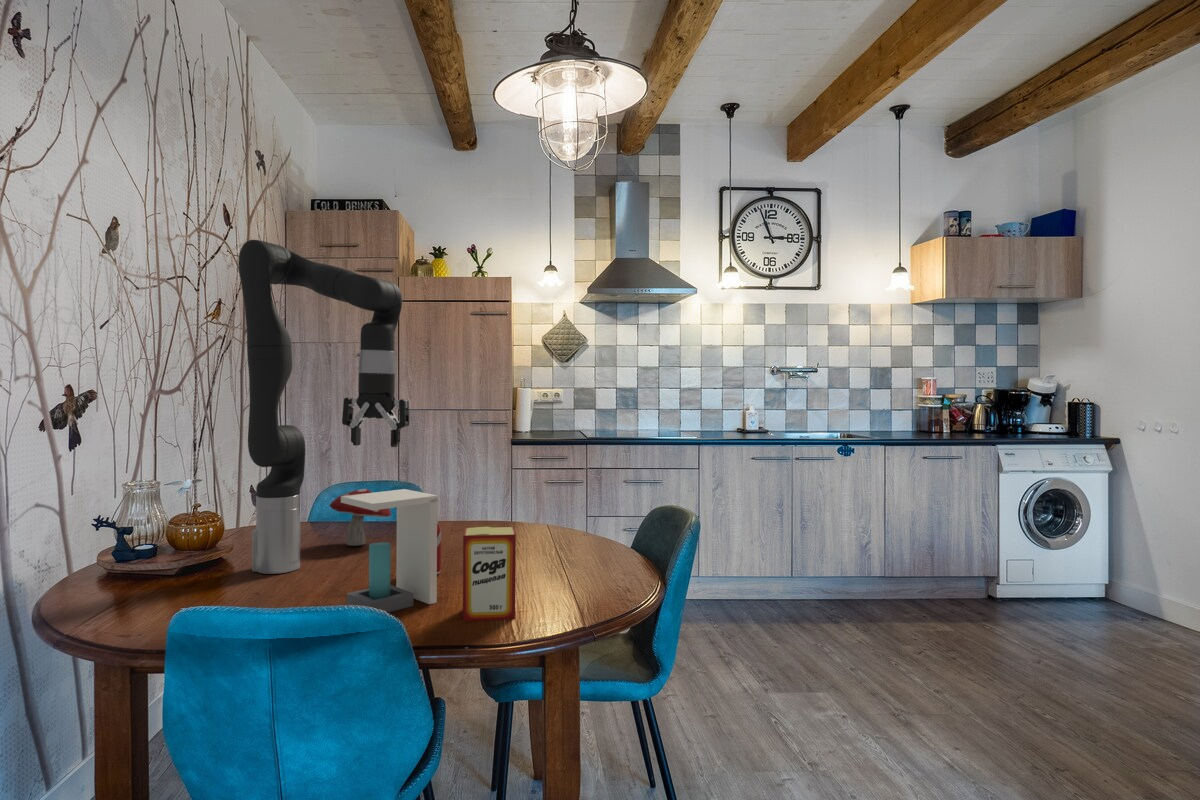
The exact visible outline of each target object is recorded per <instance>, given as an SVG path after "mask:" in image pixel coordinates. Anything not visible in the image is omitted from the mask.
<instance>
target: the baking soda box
mask: <svg viewBox="0 0 1200 800" xmlns="http://www.w3.org/2000/svg"><path fill="white" fill-rule="evenodd" d="M462 537H463V539H462V541H463V542H462V543H463V544H462V549H463V550H462V622H470V621H471V622H472V621H473V622H474V621H492V620H493V621H495V620H497V621H498V620H515V619H516V560H517V559H516V553H517V552H516V550H517V549H516V547H517V546H516V545H517V544H516V542H517V541H516V540H517V539H516V537H517V535H516V530H515V527H512V526H511V527H510V526H509V527H507V526H505V527H501V526H500V527H490V526H478V527H466V528H464V529H463V536H462Z"/></svg>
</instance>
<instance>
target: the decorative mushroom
mask: <svg viewBox="0 0 1200 800" xmlns="http://www.w3.org/2000/svg"><path fill="white" fill-rule="evenodd" d="M366 493H374V492H373V491H371V490H369V489H367V488H362V489H356V490H353V491H349V492H346V493H344V494H340V495H339V496H337V497H336V498H335V499H333V500H332V501H331V502H330V504H329V507H330V508H331V509H332V510H335V511H336V512H339V513H347V514H350V515H352V517H351V520H350V521H349V523H348V524H347V529H346V533H345V545H347V546H351V547H356V546H357V547H358V546H362V545H364V544H366V539H367V538H366V530H365V527H364V518H365V517H371V518H372V517H374V518H375V517H376V518H389V517H391V516H392V512H391V508H387V509H380V510H369V509H365V508H361V507H357V506H353V505H349V504H345V503H341V496H348V495H357V494H366Z"/></svg>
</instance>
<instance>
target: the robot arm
mask: <svg viewBox="0 0 1200 800" xmlns="http://www.w3.org/2000/svg"><path fill="white" fill-rule="evenodd" d="M238 272H239V279H240V284H241V285H240V286H241V290H242V296H243V298H242V299H243V305H244V313H245V314H244V315H245V325H246V353H247V355H246V356H247V365H248V368H247V369H248V380H249V383H248V386H249V411H248V413H249V414H248V415H249V416H248V426H247V427H248V430H247V431H248V432H247V449H248V453H249V457H250V459H251V461H252V462H253V463H254V464H255V465H256V466H258V467H259V468H271V469H270V471H269V473H268V475H267V476H266V477H265V478H264V479H262V480H260V481H259V482H258V483H257V485H256V488H255V489H256V491H255V493H256V495H255V496H256V501H255V503H256V505H255V507H256V510H255V513H256V514H255V515H256V517H255V518H256V522H255V523H256V527H255V528H254V529H252V530H251V543H252V544H251V550H252V551H251V557H252V558H251V571H252V572H256V573H259V574H266V575H274V574H275V575H276V574H284V573H289V572H293V571H297V570H298V569H300V568H301V488H302V484H303V482H304V479H305V467H306V466H305V464H306V441H305V437H304V434H303V432H302V431H301V430H300V429H299V428H298V427H296V426H294V425H290V424H281V425H280V424H279V403H280V399H281V396H282V394H283V391H284V389H285V388H286V385H287V384H288V381H289V379H290V377H291V373H292V369H293V353H292V351H293V350H292V340H291V337H290V334H289V332H288V329H287V328H286V326H285V324H284V322H283V321H282V319H281V317H280V315H279V313H278V311H277V309H276V307H275V305H274V301H273V297H272V287H271V285H285V286H286V285H288V286H296V287H297V286H298V287H304V288H307V289H309V290H311V291H313V292H315V293H317V294H318V295H321V296H324V297H327V298H329V299H333V300H336V301H340V302H343V303H347V304H350V305H351V306H354V307H357V308H359V309H361V310H365V311H370V312H373V315H372V319H371V321H370V322H367V323H365V324H363V325H362V327H361V329H360V342H359V343H360V348H359V349H360V350H359V352H360V353H359V358H358V369H357V370H358V379H357V381H358V383H357V384H358V385H357V387H358V391H357V392H358V396H357V398H354V397H353V396H352V397H351V396H350V397H349V396H348V397H345V398H344V399H343V405H342V417H341V418H342V419H341V423H342V425H344V426H347V427H349V428H350V442H351V443H352V445H353V446H354V447H357V446H360V445H361V442H362V441H361V440H362V439H361V438H362V437H361V434H362V428H361V426H362V424H363V422H365V421H366V420H367V419H374V418H375V419H384V421H386V422H387V423H388V425H389V426H390V427H391V430H390V448H397V447H398V446H399V445H400V443H401V430H402V429H403V428H406V427H409V426H410V408H409V407H410V405H409V403H410V402H409V400H408V399H407V398H406V399H405V398H404V399H403V398H402V399H395V388H396V387H395V385H396V384H395V383H396V358H395V333H396V329H397V326H398V323H399V319H400V315H401V312H402V307H403V296H402V292H401V289H400V287H399V286H398V285H397V284H396V283H394V282H392V281H389V280H385V279H380V278H376V277H372V276H367V275H365V274H364V275H362V274H358V273H357V272H355V271H352V270H350V269H346V268H342V267H338V266H335V265H331V264H327V263H326V264H325V263H320V262H315V261H312V260H310V259H307V258H305V257H303V256H301V255H299V254H297V253H295V252H293V251H292V250H290V249H288V248H286V247H284V246H282V245H280V244H277V243H276V244H275V243H272V242H268V241H263V240H258V239H250V240H247V241H246V242H244V243H243V244H242V246H241V248H240V251H239V254H238ZM356 405H357V406H358V408H359V410H358V412H357V413H356V414H355V415H354V408H355V407H356ZM395 406H396V409H397V410H398V411H399V413H398V415H399V416H398V418H399V420H398V418H397V414H395V412H394V411H393V409H394V408H395Z"/></svg>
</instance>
